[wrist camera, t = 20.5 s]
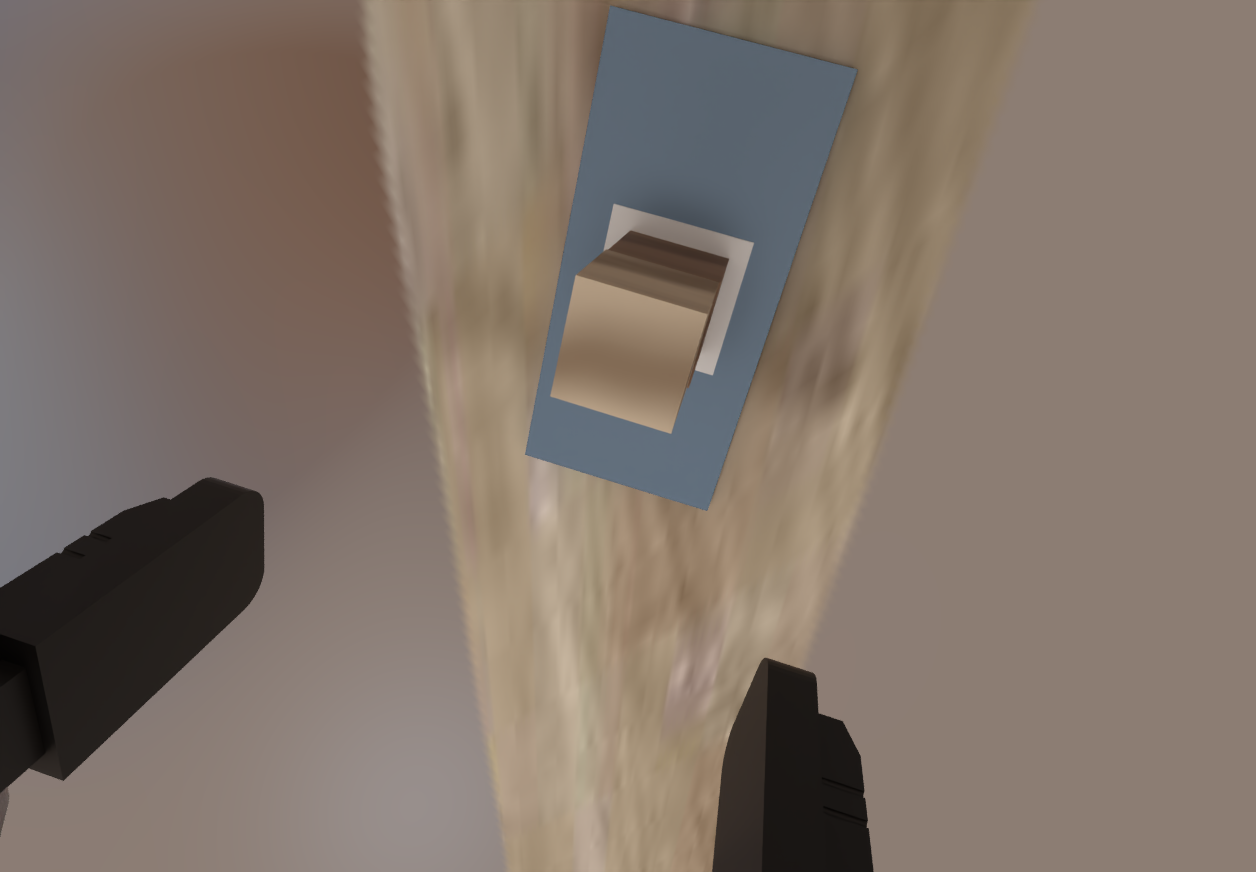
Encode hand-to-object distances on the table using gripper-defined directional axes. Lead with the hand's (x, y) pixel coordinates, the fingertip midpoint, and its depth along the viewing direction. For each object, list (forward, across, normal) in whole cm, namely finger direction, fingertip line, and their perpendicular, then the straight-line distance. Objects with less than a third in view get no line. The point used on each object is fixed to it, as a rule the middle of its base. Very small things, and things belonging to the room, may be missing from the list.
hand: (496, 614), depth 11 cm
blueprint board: (+28, +1, +2) cm, 28 cm away
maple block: (+22, +1, +2) cm, 22 cm away
